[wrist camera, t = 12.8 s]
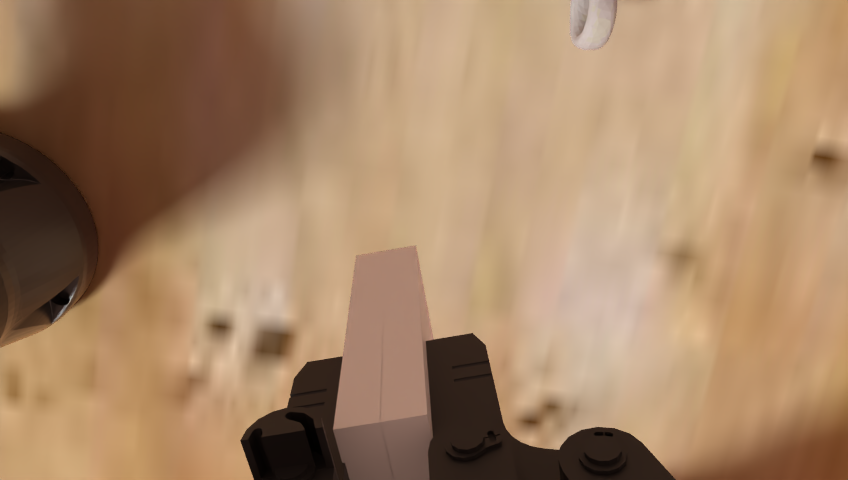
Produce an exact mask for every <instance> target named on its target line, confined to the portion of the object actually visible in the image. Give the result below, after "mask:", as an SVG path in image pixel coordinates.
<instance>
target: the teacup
mask: <svg viewBox="0 0 848 480" xmlns="http://www.w3.org/2000/svg"><path fill="white" fill-rule="evenodd" d="M616 12H617V0H571V6H570V36H571V40H572V43H573V44H574V45H575V46H576V47H578V48H579V49H583V50H596V49H599V48H601V47H603V45H604V44H605V43H606V42H607V41H608V39H609V37H610V35H611V32H612V30H613V26H614V22H615V18H616Z"/></svg>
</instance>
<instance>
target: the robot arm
mask: <svg viewBox="0 0 848 480" xmlns="http://www.w3.org/2000/svg"><path fill="white" fill-rule="evenodd" d="M97 258H98V241H97V234H96V229H95V225H94V222H93V219H92V216H91V213H90V211H89V209H88V207H87V205H86V203H85V201H84V199H83V197H82V196H81V194H80V193H79V191H78V190H77V188H76V187H75V185H74V184H73V183H72V182H71V181H70V179H69V178H68V177H67V176H66V175H65V174H64V173H63V172H62V171H61V170H60V169H59V168H58V167H57V166H56V165H55V164H54V163H53V162H51V161H50V160H49V159H48V158H46V157H45V156H44V155H42V154H41V153H39V152H38V151H36V150H35V149H33V148H32V147H30V146H28V145H26V144H25V143H23V142H21V141H19V140H17V139H14V138H12V137H9V136H7V135H4V134H1V133H0V348H1V347H3V346H6V345H8V344H11V343H13V342H16V341H18V340H21V339H23V338H26V337H28V336H31V335H33V334H36V333H38V332H40V331H42V330H44V329H46V328H48V327H49V326H51V325H52V324H54V323H55V322H56V321H58V320H59V319H60V318H62V317H63V316H64V315H65V314H66V313H67V312H68V311H69V310H70V309H71V308H72V306H73V305H74V304H75V303H76V302H77V301H78V300H79V299H80V298H81V296H82V295H83V294H84V293H85V291H86V290H87V288H88V286H89V285H90V282H91V280H92V278H93V275H94V272H95V269H96V265H97ZM290 396H291V398H289V402H288V406H287V408H285V409H281V410H277V411H274V412H271V413H269V414H268V415H266V416H264V417H262V418H260V419H258V420H257V421H256V422H255V423H254V424H253V425H251V426H250V427H249V428H248V429H247V430H246V432H245V434H244V435H243V437H242V439H241V440H240V441H241V444H242V446H243V449H244V452H245V455H246V458H247V461H248V464H249V466H250V469H251V472H252V475H253V478H254V480H675V478H674V477H673V476H672V475H671V474H670V473H669V472H668V471H667V470H666V469H665V467H664V466H663V465H662V464H661V463H660V462H659V461H658V460H657V459H656V458H655V456H654V455H653V454H652V453H651V452H650V451H649V450H648V449H647V448H646V447H645V446H644V444H643V443H642V442H640V441H639V440H638V439H636V438H635V437H634V436H632V435H631V434H629V433H626V432H624V431H621V430H618V429H615V428H603V427H595V428H590V429H585V430H581V431H579V432H577V433H575V434H573V435H571V436H569V437H568V438H567V440H566V441H565V442H564V443H563V444H562V446H561V447H560V450H553V449H543V448H537V447H532V446H529V445H527V444H524V443H521V442H520V441H518V440H517V439H515V438H514V437H512V436H511V435H510V433H509V432H508V431H507V430H506V428H505V426H504V423H503V420H502V415H501V411H500V407H499V402H498V398H497V393H496V389H495V385H494V380H493V376H492V372H491V367H490V363H489V358H488V354H487V350H486V345H485V344H484V343H483V342H482V341H480V340H479V339H478V338H477V337H476V336H475V335H474V334H473V333H471V334H465V335H459V336H453V337H447V338H441V339H435V340H434V339H433V334H432V329H431V323H430V318H429V313H428V307H427V302H426V297H425V292H424V286H423V281H422V276H421V270H420V265H419V260H418V255H417V249H416V246H410V247H404V248H398V249H392V250H386V251H380V252H374V253H368V254H362V255H357V256H356V260H355V268H354V275H353V283H352V291H351V298H350V306H349V313H348V321H347V328H346V336H345V343H344V351H343V356H342V357H336V358H330V359H324V360H318V361H312V362H307V363H306V365H305V366H304V367H303V368H302V369H301V371H300V372H299V373H298V374H297V376H296V377H295V378H294V381H293V386H292V390H291V394H290Z"/></svg>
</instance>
